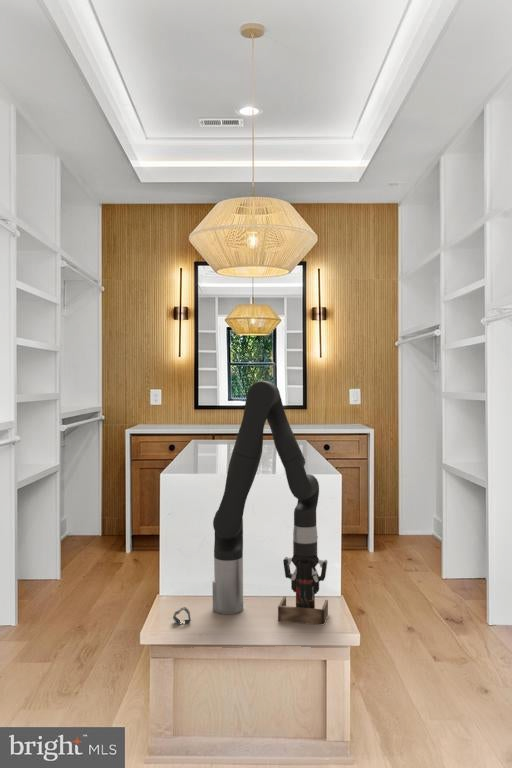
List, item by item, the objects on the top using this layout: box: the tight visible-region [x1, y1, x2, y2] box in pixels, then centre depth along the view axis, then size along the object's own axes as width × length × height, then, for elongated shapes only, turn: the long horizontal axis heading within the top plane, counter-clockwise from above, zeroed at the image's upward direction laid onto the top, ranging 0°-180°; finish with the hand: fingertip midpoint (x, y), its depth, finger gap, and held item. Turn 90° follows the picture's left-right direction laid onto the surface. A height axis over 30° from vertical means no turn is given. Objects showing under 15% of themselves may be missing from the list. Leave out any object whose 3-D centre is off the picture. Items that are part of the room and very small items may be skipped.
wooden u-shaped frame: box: [277, 595, 329, 625], centre depth 206 cm, size 14×9×4 cm, turn 76°
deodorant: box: [295, 561, 316, 609], centre depth 207 cm, size 6×6×15 cm
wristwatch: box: [172, 606, 192, 625], centre depth 202 cm, size 3×5×5 cm
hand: (305, 591), depth 207 cm, fingers closed on deodorant, 6 cm apart
